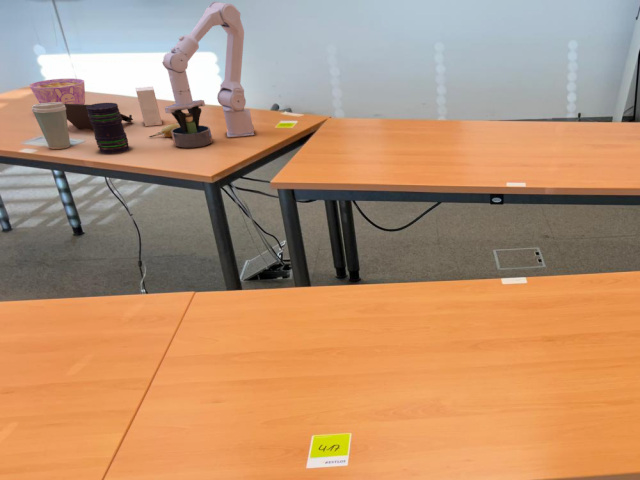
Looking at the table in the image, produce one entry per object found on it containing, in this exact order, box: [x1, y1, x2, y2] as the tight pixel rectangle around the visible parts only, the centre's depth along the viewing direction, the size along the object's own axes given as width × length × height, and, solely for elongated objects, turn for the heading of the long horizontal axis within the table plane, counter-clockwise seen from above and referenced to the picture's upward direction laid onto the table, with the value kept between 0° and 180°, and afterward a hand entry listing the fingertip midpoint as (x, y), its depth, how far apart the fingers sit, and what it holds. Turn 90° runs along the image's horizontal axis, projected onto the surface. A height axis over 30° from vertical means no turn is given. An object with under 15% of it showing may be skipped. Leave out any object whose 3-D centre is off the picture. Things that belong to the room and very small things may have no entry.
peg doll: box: [185, 112, 197, 134], centre depth 258 cm, size 4×4×8 cm
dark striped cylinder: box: [86, 102, 131, 155], centre depth 251 cm, size 10×10×15 cm
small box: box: [135, 86, 163, 127], centre depth 284 cm, size 8×6×13 cm
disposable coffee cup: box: [30, 102, 71, 150], centre depth 254 cm, size 11×11×15 cm
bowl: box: [171, 124, 214, 149], centre depth 261 cm, size 13×13×5 cm
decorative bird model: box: [149, 121, 180, 140], centre depth 269 cm, size 4×13×10 cm
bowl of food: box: [29, 78, 86, 105], centre depth 300 cm, size 20×20×12 cm
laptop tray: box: [64, 104, 134, 131], centre depth 279 cm, size 23×23×9 cm
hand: (190, 130), depth 259 cm, fingers closed on peg doll, 4 cm apart
